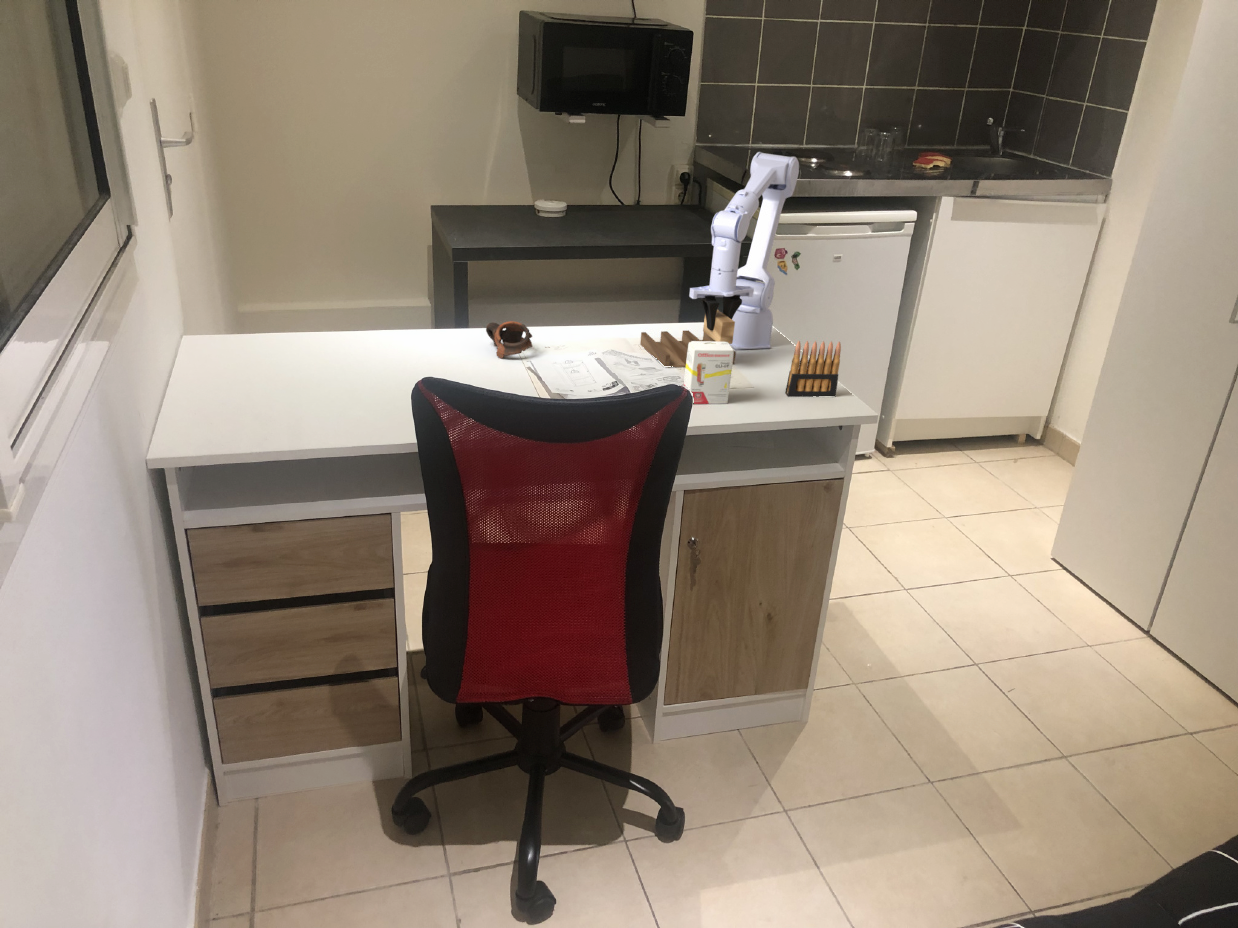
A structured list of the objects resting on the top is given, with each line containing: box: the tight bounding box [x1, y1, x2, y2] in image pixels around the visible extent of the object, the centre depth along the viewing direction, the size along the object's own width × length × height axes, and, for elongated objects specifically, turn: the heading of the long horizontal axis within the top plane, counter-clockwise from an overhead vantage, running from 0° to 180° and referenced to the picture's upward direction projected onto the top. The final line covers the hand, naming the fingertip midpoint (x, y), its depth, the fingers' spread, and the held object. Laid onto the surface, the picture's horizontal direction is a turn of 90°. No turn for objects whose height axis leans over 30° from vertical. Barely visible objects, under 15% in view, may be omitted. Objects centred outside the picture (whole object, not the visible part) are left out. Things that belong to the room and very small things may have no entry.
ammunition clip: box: [784, 340, 842, 398], centre depth 199 cm, size 11×2×12 cm, turn 99°
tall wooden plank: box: [702, 309, 735, 344], centre depth 210 cm, size 3×9×5 cm, turn 20°
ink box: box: [683, 341, 735, 405], centre depth 192 cm, size 9×5×12 cm, turn 101°
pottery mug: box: [485, 320, 533, 359], centre depth 211 cm, size 12×10×8 cm
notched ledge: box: [640, 330, 737, 368], centre depth 219 cm, size 17×16×3 cm
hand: (717, 328), depth 211 cm, fingers closed on tall wooden plank, 3 cm apart
